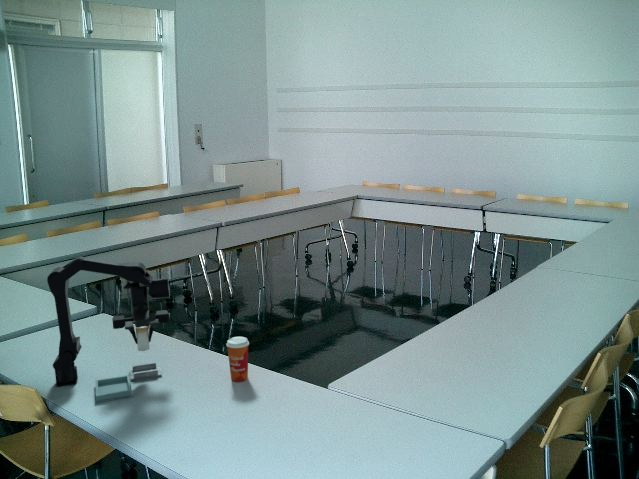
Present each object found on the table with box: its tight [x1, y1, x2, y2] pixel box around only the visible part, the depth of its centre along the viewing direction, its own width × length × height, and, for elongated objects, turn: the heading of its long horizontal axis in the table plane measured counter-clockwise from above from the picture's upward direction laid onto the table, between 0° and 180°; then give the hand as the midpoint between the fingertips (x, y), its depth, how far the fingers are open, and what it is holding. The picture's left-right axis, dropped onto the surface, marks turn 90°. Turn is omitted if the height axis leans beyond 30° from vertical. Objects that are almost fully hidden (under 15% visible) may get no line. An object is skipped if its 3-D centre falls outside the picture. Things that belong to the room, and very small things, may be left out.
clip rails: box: [128, 361, 163, 382], centre depth 226 cm, size 10×8×2 cm
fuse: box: [135, 326, 150, 352], centre depth 223 cm, size 4×4×8 cm
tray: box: [94, 374, 133, 403], centre depth 213 cm, size 11×13×2 cm
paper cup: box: [225, 336, 250, 383], centre depth 220 cm, size 8×8×14 cm
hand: (143, 342), depth 224 cm, fingers closed on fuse, 4 cm apart
